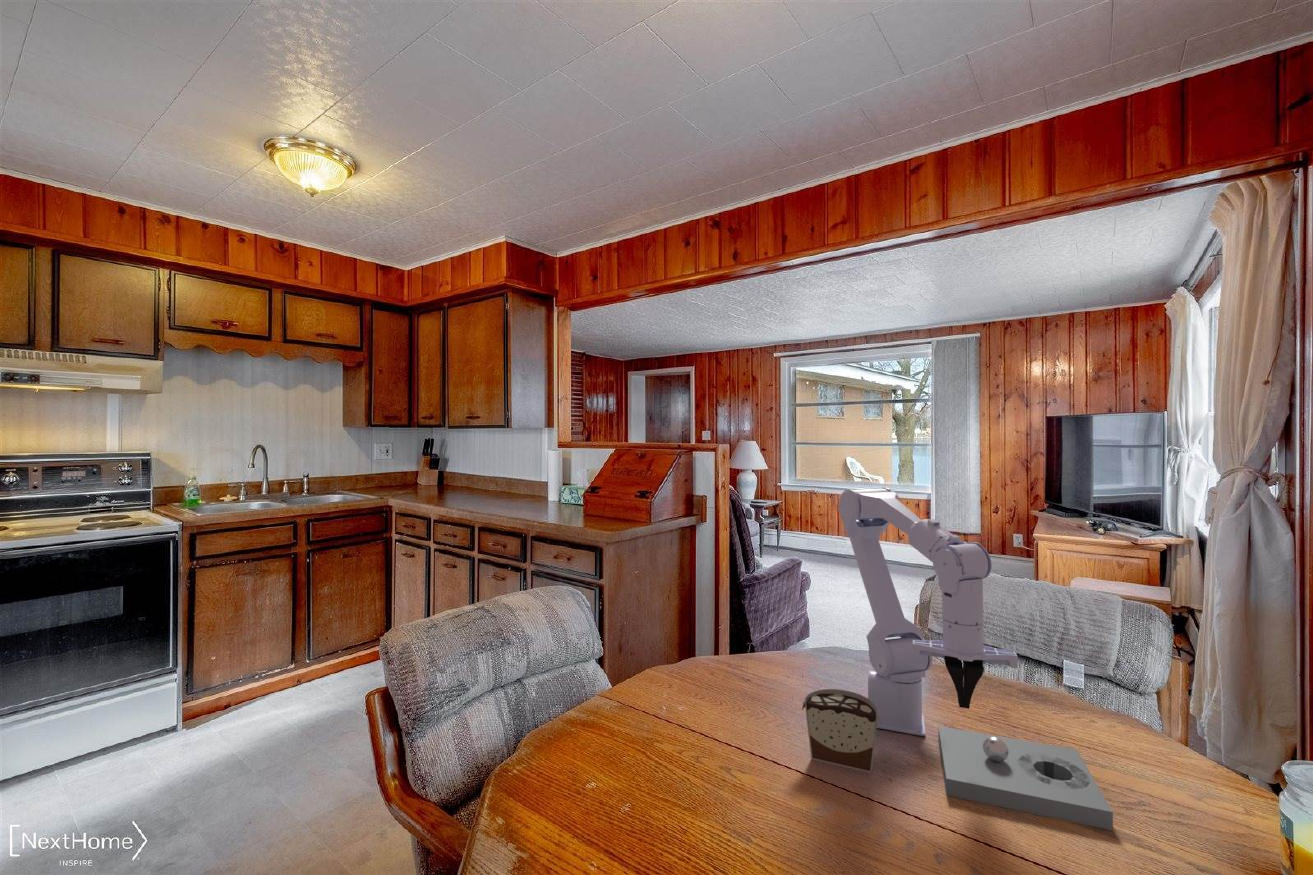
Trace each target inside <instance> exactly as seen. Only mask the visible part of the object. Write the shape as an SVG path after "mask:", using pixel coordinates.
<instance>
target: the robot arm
mask: <svg viewBox="0 0 1313 875" xmlns="http://www.w3.org/2000/svg"><path fill="white" fill-rule="evenodd" d="M837 507H838V512H839V516H840V518H841V521H842V525H843V528H844V532H845V534H846V535H848V537H849V541H850V544H851V547H852V550H853V553H854V556H855V560H856V564H857V567H858V570H859V573H860V576H861V580H862V582H863V586H864V589H865V593H866V596H867V599H868V602H869V605H870V608H871V611H872V615H873V618H874V622H875V625H873V627H872V628H871V630H870V631H869V632H868V633H867V635H866V640H867V645H868V658H869V662H870V664H871V667H872V668H873V669H869V670H868V672H867V673H868V674H867V698H868V699H869V700H871V701H872V702H873V703H874V704H875V705H876V707H877V710H878V712H879V715H880V720H881V725H880V722H879V719H878V717H877V727H876V729H881V730H885V731H887V730H888V731H893V732H899V733H903V734H909V735H915V736H920V737H925V736H926V733H927V732H926V725H925V717H924V714H923V689H922V687H923V686H922V683H923V678H925V677H926V672H927V671H929V670H930V669H931V667H932V665H933V657H934V658H935V657H936V658H943V660H944V664H945V668H946V669H947V672H948V674H949V676H950V677H951V680H952V682H953V685H954V688H955V690H956V694H957V703H958V707H959V708H963V709H970V708H971V707H970V706H971V701H972V696H973V694H974V691H975V688H976V687H977V684H978V683H979V681H980V679H981V678H982V676H983V675H984V671H985V667H984V663H985V664H992V665H999V666H1000V665H1001V666H1006V667H1007V666H1008V667H1009V668H1012V669H1018V665H1019V664H1018V655H1017V653H1016V652H1015V651H1014V650H1007V649H1001V648H996V647H992V646H987V645H985V644H984V587H983V586H984V581H983V580H984V579H986V578H987V577H989V576H990V574H991V572H992V564H993V563H992V560H991V559H992V558H991V555H990V554H989V552H988V550H987V549H986V548H985V547H984V546H983V545H981V543H979V542H976V541H971V542H967V541H963V540H962V539H961V538H960V536H958V535H957V534H953V533H952V532H950V531H949V530H947V529H946V528H945V527H943V526H942V525H941V522H940V521H939V520H937V519H935V518H933V519H932V518H931V519H929V518H925V519H921V518H920V517H918V516H917V515H916V514H915V512H913V511H912V510H910V509H909V508H908V507H907V506H905V505H904V504H903V503H902V501H900V500H899V496H898V493H896V492H894V491H893V490H892V489H891V488H888V487H881V488H863V489H862V488H861V489H851V488H847V489H845V490H843V491H842V493H841V495H840V498H839V502H838V506H837ZM890 524H891V525H892V526H894V527H896V528H897V529H898V530H900V531H901V532H903V533H904V534H905V535H908V537H907V539H908V543H909V545H910V546H911V547H912V548H914V549H915V550H916V551H917V552H919V553H920V554H922V556H924V557H925V558H926V559H928V561H930V562H931V563H932V566H933V570H934V572H935V574H936V576H937V581H938V582H937V583H938V586H939V590H940V591H941V605H942V606H941V609H942V610H941V613H942V640H926V639H925V638H924V636H923V634H922V631H921V629H920V627H919V626H917V625H916V624H915V623H913V622H911V621H909V619H906V617H905V615H904V612H903V609H902V606H901V603H900V600H899V597H898V593H897V591H896V589H895V585H894V583H893V579H892V577H891V573H890V571H889V567H888V565H887V561H886V558H885V556H884V553H883V550H882V546H881V543H880V541H879V538H880V535H881V534H883V533H884V532H886V530H887V529H888V527H889V526H890Z"/></svg>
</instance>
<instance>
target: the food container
mask: <svg viewBox="0 0 1313 875" xmlns="http://www.w3.org/2000/svg"><path fill="white" fill-rule="evenodd" d="M804 709H805V715H806V716H805V717H806V725H807V732H808V743H809V751H810V759H811V760H812V761H813V760H814V761H817V762H821V763H826V764H829V765H833V766H839V767H842V768H846V769H847V768H848V769H852V770H856V771H861V772H865V773H869V774H872V773H873V765H874V754H875V744H876V736H877V728H876V727H877V717H878V719H879V722H880V725H881V720H880V715H879V712H878V710H877V707H876V705H875V704H874V703H873V702H872V701H871V700H869V699H868V697H866V696H864V695H862V694H860V693H856V692H853V691H850V690H845V689H836V688H823V689H818V690H814V691H811V692H809V693H808V694H807V695H806V696H805V697H804V699H803V701H802V706H801V710H802V711H803V710H804Z"/></svg>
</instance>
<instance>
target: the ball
mask: <svg viewBox="0 0 1313 875" xmlns="http://www.w3.org/2000/svg"><path fill="white" fill-rule="evenodd" d="M995 736H996V735H994V736H990V737H987V738H986V739H985V740H984V742H983V750H984V753H985V754H986V756H987V757H988V758H990V759H991V760H993V761H996V762H1002V761H1004V760H1006V759H1007V757H1008V754H1009V750H1008V747H1007V745H1006V743H1005V742H1004V741H1003V740H1002V739H1000V738H998V737H995Z"/></svg>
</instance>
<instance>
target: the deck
mask: <svg viewBox="0 0 1313 875" xmlns="http://www.w3.org/2000/svg"><path fill="white" fill-rule="evenodd" d="M937 727H938V733H937V734H938V735H937V736H938V737H937V738H938V748H939V754H940V760H941V766H942V767H941V768H942V773H943V780H944V786H945V787H944V788H945V795H946V796H949V797H953V798H958V799H961V800H962V799H963V800H966V801H971V802H977V803H981V804H986V805H991V806H995V807H999V808H1000V807H1001V808H1006V809H1009V810H1014V811H1018V812H1024V813H1028V814H1032V815H1037V816H1042V817H1046V818H1047V817H1048V818H1052V819H1056V820H1060V821H1066V822H1070V823H1074V824H1081V825H1085V826H1089V827H1095V828H1099V829H1103V830H1109V831H1114V814H1113V813H1114V812H1113V810H1112V808H1111V807H1110V805H1109V803H1108V802H1107V799H1106V798H1105V796H1104V794H1103V793H1102V791H1101V789H1100V788H1099V785H1098V784H1097V782H1096V780H1095V778H1094V777H1093V774H1092V773H1091V772H1090V770H1089V768H1088V766H1087V765H1086V763H1085V761H1084V760H1083V758H1082V756H1081V754H1080V751H1079V750H1078V749H1075V748H1071V747H1069V748H1068V747H1064V746H1060V745H1059V746H1058V745H1052V744H1046V743H1041V742H1034V741H1029V740H1023V739H1017V738H1016V739H1015V738H1011V737H1005V736H999V735H994V734H987V733H984V732H983V733H981V732H975V731H969V730H965V729H958V728H951V727H946V726H940V725H938V726H937ZM990 736H995V737H998V738H1000V739H1002V740H1003V741H1004V742H1005V743H1006V745H1007V747H1008V750H1009V754H1008V757H1007V759H1006V760H1004V761H1002V762H996V761H993V760H991V759H990V758H988V757H987V756H986V754H985V753H984V750H983V742H984V740H985V739H986V738H987V737H990Z"/></svg>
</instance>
